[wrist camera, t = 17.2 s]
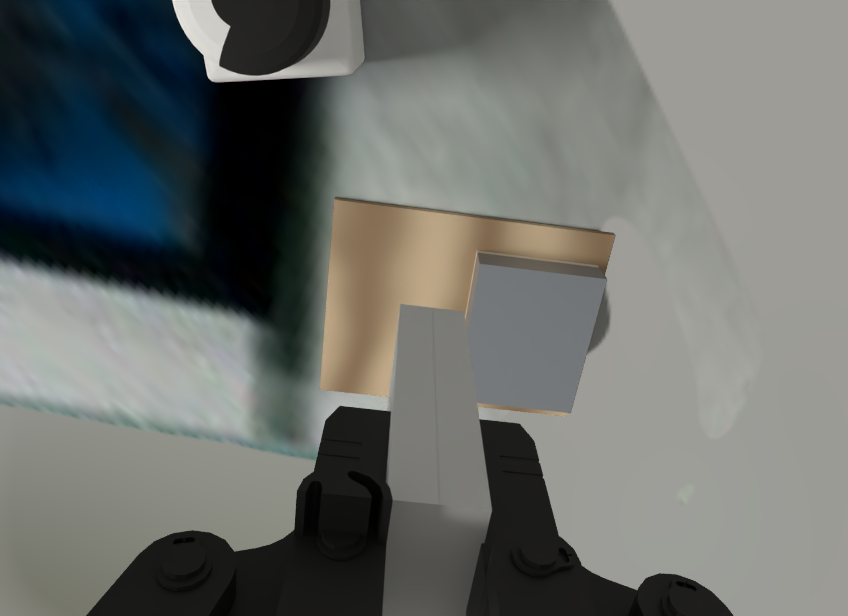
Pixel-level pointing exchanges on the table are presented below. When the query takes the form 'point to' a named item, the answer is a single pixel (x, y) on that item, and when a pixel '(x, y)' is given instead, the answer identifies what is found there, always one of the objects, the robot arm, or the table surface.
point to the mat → (418, 278)
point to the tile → (530, 328)
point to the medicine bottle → (274, 37)
